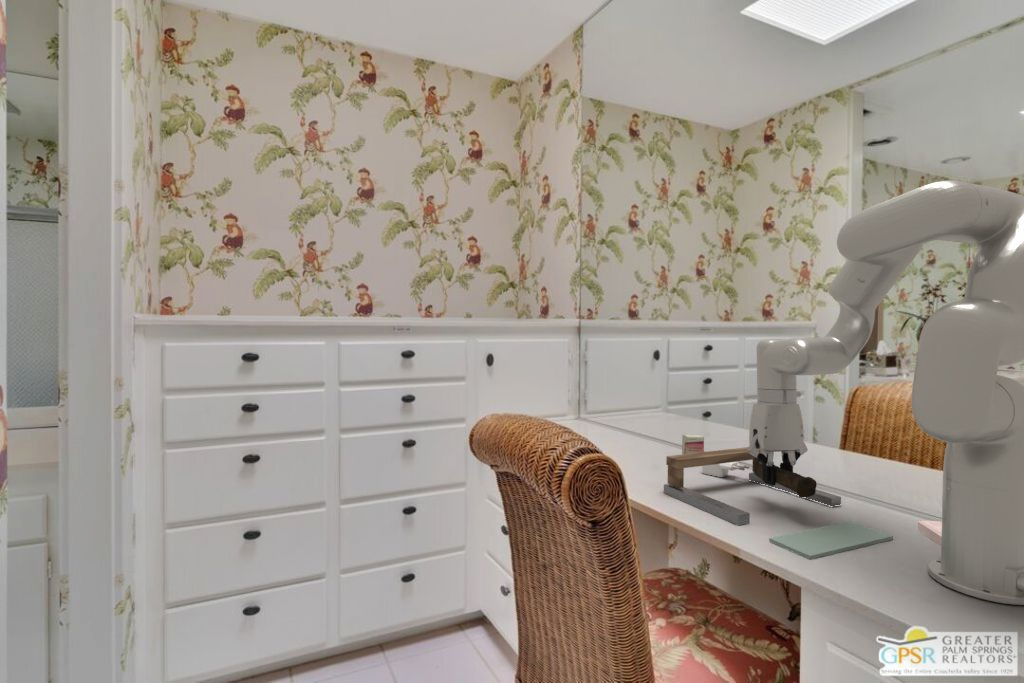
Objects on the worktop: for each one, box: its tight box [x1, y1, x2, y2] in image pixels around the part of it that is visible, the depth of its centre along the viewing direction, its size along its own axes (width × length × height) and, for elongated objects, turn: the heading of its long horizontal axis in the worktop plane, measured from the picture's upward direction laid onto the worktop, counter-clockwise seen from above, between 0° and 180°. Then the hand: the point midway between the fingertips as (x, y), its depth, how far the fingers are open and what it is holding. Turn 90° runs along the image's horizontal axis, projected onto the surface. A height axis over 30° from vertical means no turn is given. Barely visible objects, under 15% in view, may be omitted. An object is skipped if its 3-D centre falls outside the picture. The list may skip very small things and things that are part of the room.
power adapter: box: [701, 450, 750, 478], centre depth 136 cm, size 11×5×6 cm, turn 43°
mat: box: [768, 521, 894, 560], centre depth 95 cm, size 8×22×1 cm, turn 113°
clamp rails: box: [663, 472, 842, 526], centre depth 118 cm, size 22×30×2 cm
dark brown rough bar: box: [752, 457, 817, 498], centre depth 111 cm, size 19×4×5 cm, turn 3°
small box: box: [681, 433, 705, 455], centre depth 151 cm, size 5×4×8 cm
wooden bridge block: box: [666, 446, 761, 488], centre depth 126 cm, size 4×29×6 cm, turn 113°
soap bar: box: [917, 519, 942, 547], centre depth 95 cm, size 5×9×2 cm, turn 168°
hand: (777, 482), depth 111 cm, fingers closed on dark brown rough bar, 3 cm apart
